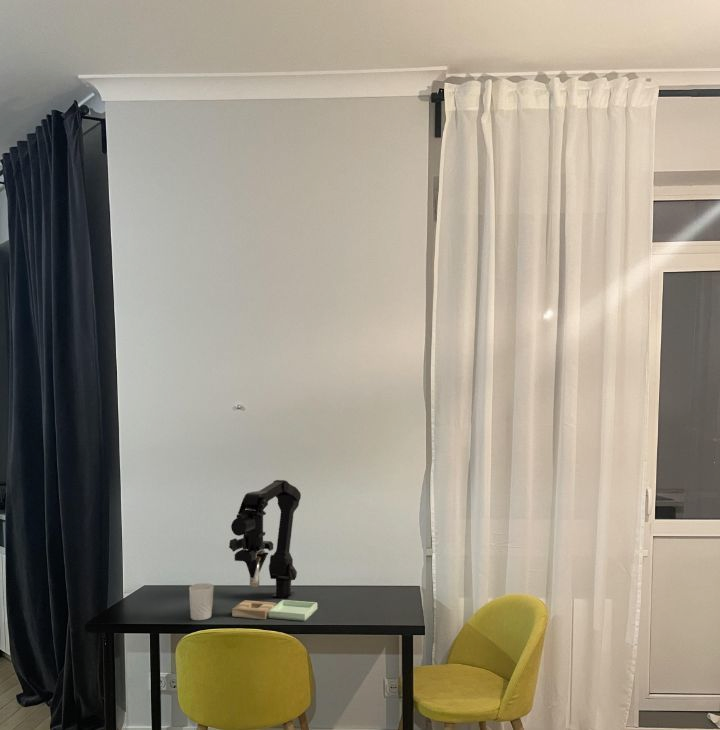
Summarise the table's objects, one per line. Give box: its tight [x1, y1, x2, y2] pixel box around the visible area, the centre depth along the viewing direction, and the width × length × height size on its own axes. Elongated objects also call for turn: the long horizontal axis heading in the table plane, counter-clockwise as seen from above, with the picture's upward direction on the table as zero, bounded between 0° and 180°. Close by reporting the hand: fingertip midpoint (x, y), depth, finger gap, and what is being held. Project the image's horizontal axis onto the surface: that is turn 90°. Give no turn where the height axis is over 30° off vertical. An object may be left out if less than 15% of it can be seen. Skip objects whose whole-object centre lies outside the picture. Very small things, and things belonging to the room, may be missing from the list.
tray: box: [267, 599, 318, 622], centre depth 199 cm, size 12×13×2 cm
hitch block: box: [231, 599, 277, 620], centre depth 200 cm, size 9×12×2 cm
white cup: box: [188, 582, 214, 621], centre depth 197 cm, size 8×8×10 cm
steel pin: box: [249, 556, 261, 588], centre depth 201 cm, size 4×4×9 cm
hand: (254, 576), depth 201 cm, fingers closed on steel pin, 3 cm apart
